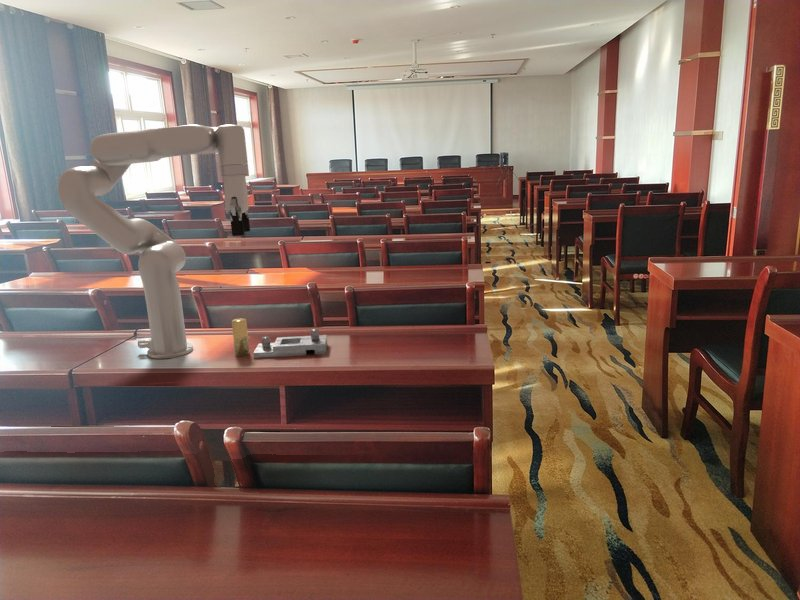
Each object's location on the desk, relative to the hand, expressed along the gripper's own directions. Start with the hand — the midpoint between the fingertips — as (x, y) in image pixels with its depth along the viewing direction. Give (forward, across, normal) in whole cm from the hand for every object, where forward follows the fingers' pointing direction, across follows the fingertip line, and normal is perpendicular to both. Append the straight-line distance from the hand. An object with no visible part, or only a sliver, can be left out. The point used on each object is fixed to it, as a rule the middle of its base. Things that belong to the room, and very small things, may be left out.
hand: (241, 233), depth 170 cm
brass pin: (+34, +5, -3) cm, 34 cm away
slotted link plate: (+34, +5, +9) cm, 35 cm away
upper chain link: (+34, +5, +14) cm, 37 cm away
